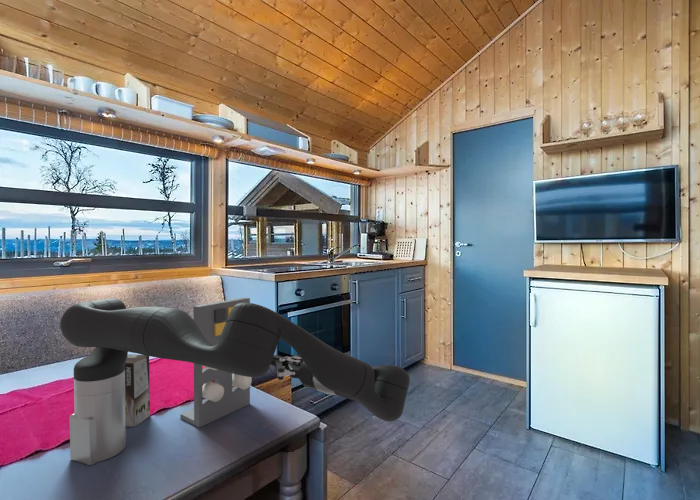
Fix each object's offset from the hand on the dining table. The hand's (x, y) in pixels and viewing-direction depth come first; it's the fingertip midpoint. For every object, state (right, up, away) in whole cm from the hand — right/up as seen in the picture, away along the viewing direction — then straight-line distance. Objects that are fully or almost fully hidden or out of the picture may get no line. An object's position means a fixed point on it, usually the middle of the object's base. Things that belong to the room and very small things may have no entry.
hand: (271, 359), depth 94 cm
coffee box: (-37, -16, +1) cm, 41 cm away
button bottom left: (-15, -10, 0) cm, 18 cm away
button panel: (-16, -16, +6) cm, 23 cm away
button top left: (-15, -2, -1) cm, 15 cm away
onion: (-24, -15, +18) cm, 34 cm away
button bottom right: (-10, -10, +7) cm, 16 cm away
